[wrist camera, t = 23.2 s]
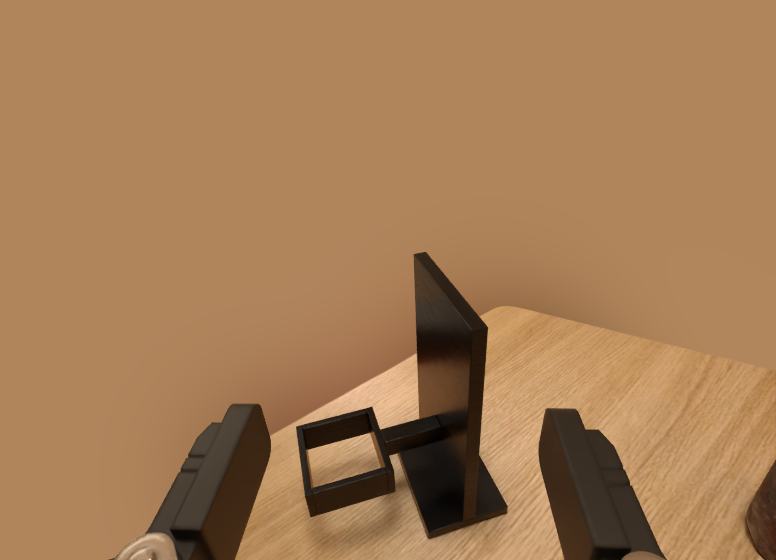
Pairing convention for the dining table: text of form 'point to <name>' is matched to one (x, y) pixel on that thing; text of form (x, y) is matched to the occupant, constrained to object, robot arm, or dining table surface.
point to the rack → (424, 421)
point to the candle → (764, 516)
